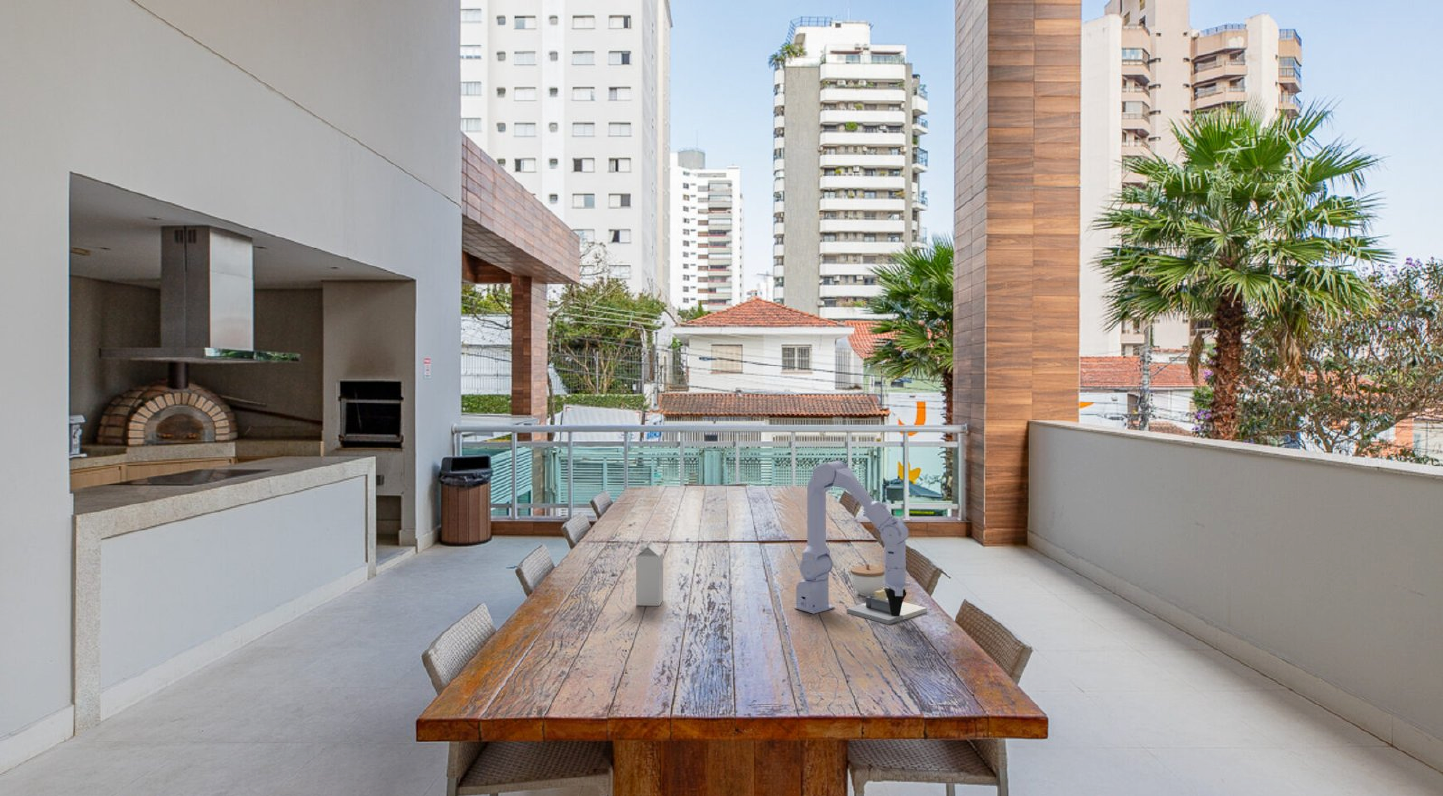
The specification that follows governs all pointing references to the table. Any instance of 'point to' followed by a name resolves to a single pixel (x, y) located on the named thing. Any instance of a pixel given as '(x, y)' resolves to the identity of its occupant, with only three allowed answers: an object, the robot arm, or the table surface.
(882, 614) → the door board
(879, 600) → the swing bar
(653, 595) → the milk carton
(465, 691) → the table surface
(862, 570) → the lidded jar
